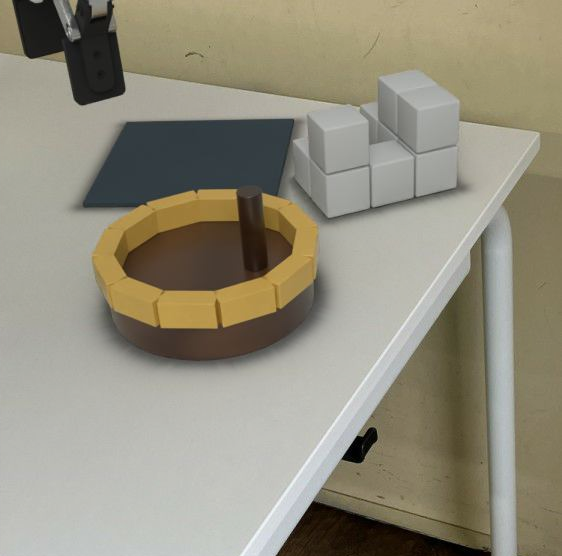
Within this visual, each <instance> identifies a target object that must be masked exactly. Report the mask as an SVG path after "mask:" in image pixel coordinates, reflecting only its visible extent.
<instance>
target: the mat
mask: <svg viewBox="0 0 562 556" xmlns="http://www.w3.org/2000/svg"><path fill="white" fill-rule="evenodd" d="M294 123H295V118H253V119H252V118H250V119H246V118H245V119H197V120H196V119H195V120H192V119H191V120H143V121H137V120H136V121H126V122H125V124H124V126H123V127H122V130H121V131H120V133H119V135H118V137H117V139H116V141H115V143H113V146H112V148H111V150H110V151H109V153H108V155H107V157H106V159H105V161H104V163H103V165H102V166H101V168H100V170H99V172H98V174H97V176H96V178H95V179H94V181H93V182H92V185H91V187H90V189H89V190H88V192H87V194H86V196H85V197H84V200H83V201H82V206H83V207H86V208H87V207H88V208H92V207H93V208H94V207H95V208H96V207H139V206H141V205H145V206H147V202H150V201H154V200H158V199H162V198H165V197H169V196H173V195H177V194H181V193H185V192H188V191H192V190H194V192H195V193H196V194H197V192H198V190H210V189H239V188H240V187H243V186H247V185H254V186H258V187H260V188H261V189H262V193H265V194H268V195H272V196H275V197H278V193H279V187H280V184H281V183H280V182H281V180H282V175H283V171H284V167H285V161H286V158H287V154H288V150H289V145H290V141H291V137H292V132H293V129H294Z"/></svg>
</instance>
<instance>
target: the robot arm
mask: <svg viewBox="0 0 562 556" xmlns="http://www.w3.org/2000/svg"><path fill="white" fill-rule="evenodd" d="M113 1H114V0H77V2H76V5H75V12H74V10H73V8H72V5H71V3H70V0H11V3H12V7H13V12H14V16H15V20H16V24H17V29H18V32H19V37H20V41H21V46H22V51H23V54H24V55H25V57H26V58H28V59H29V60H34V59H38V58H42V57H47V56H50V55H56V54H58V53H63V54H64V58H65V63H66V68H67V73H68V78H69V84H70V89H71V93H72V98H73V101H74V102H75V103H76V104H77V105H79V106H81V107H85V106H87V105H91V104H95V103H98V102H103V101H106V100H110V99H113V98H118V97H120V96H123V95H125V93H126V90H127V87H126V82H125V76H124V75H125V74H124V70H123V64H122V58H121V52H120V45H119V40H118V34H117V29H118V28H117V27H118V25H117V20H116V17H115V15H114V9H115V4H113Z"/></svg>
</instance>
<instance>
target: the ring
mask: <svg viewBox="0 0 562 556" xmlns="http://www.w3.org/2000/svg"><path fill="white" fill-rule="evenodd" d="M236 191H237V189H210V190H198V192H197V194H196V193H195V192H194V190H192V191H188V192H185V193H181V194H177V195H173V196H169V197H165V198H162V199H158V200H154V201H150V202H147V206H145V205H141V206H136V208H134V209H132V210H131V211H129V212H128V213H126V214H124V215H123V216H121V217H119V218H118V219H117V220H115V221H113V222H112V223H110V224H109V225H108V226H107V228H105V229H104V230H103V232H102V234H101V236H100V238H99V240H98V242H97V244H96V246H95V249H94V250H93V252H92V254H91V263H92V268H93V273H94V278H95V282H96V284H97V286H98V288H99V289H100V291H101V293H102V294H103V296H104V298H105V300H106V302H107V304H108V305H109V308H110V307H111V308H114V311H116V312H119V313H121V314H124V315H126V316H129V317H131V318H134V319H137V320H139V321H142V322H144V323H147V324H149V325H152V326H154V327H157V326H158V325H159V324H160V326H161V328H211V329H217V328H218V325H219V322H220V324H221V325H222V326H223V328H224V327H227V326H231V325H234V324H237V323H241V322H244V321H247V320H250V319H254V318H257V317H260V316H263V315H267V314H270V313H273V312H276V307H277V308H280V309H282V308H283V307H284V306H285V305H286V304H288V303H289V302H290V301H291V300H292V299H294V298H295V297H296V296H297V295H298V294H300V293H301V292H302V291H303V290H305V289H306V288H307V287H308V286H309V285H311V284H312V283H313V279H314V280H316V278H317V271H318V265H319V258H320V248H321V247H320V231H319V227H318V224H317V223H316V222H315V221H314V220H313V219H312V218H311V217H310V216H309V215H308V214H307V213H306V212H305V211H304V210H303V209H302V207H300V206H299V205H298V203H293V202H292V201H291V200H289V199H285V198H281V197H279V196H277V197H275V196H272V195H268V194H265V193H262V197H263V209H264V220H265V228H268V229H271V230H274V231H278V232H280V233H281V234H282V235H283V237H284V238H285V239H286V240H287V241H288V242H289V243H290V244H291V245H292V246H293V250H292V255H290V256H289V257H288V258H286V259H285V260H284V261H283V262H281V263H280V264H279V265H277V266H276V267H275V268H274V269H272V270H271V271H270V272H268V273H267V274H266V275H265V276H263V277H261V278H257V279H254V280H250V281H247V282H243V283H240V284H237V285H233V286H230V287H226V288H223V289H220V290H216V291H164V290H161V289H159V288H156V287H153V286H151V285H148V284H145V283H143V282H140V281H137V280H135V279H132V278H129V277H127V275H126V274H125V272H124V271H123V269H122V267H123V265H124V262H125V260H126V258H127V255H128V253H129V252H131V251H132V250H134V249H135V248H137V247H138V246H140V245H141V244H143V243H144V242H146V241H147V240H149V239H150V238H152V237H153V236H155V235H156V234H158V233H160V232H164V231H168V230H171V229H175V228H179V227H182V226H186V225H190V224H193V223H197V222H201V221H239V217H238V207H237V198H236ZM111 308H110V309H111Z"/></svg>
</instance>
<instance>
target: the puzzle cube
mask: <svg viewBox="0 0 562 556" xmlns="http://www.w3.org/2000/svg"><path fill="white" fill-rule="evenodd" d="M460 115H461V100H459V98H458V97H456V96H455V95H453V94H452V93H451V92H450V91H448V90H447V89H445V88H444V87H442V86H441V85H439V84H438V83H437V82H436V81H434V80H433V78H431V77H430V76H428V75H427V74H425V73H423V72H422V71H421V70H420V69H418V68H414V69H409V70H405V71H400V72H396V73H390V74H386V75H380V76H378V77H377V100H376V101H372V102H367V103H362V104H360V105H359V111H358V110H357V109H356V107H354V106H353V105H352V104H350V103H346V104H341V105H337V106H333V107H328V108H324V109H318V110H314V111H309V112H307V113H306V120H307V121H306V122H307V123H306V124H307V136H304V137H301V138H295V139H293V140H292V152H293V165H294V166H293V169H294V179H295V180H294V181H296V182H297V184H298V185H299V186H300V187H301V188H302V190H303V191H304V192H305V193H306V195H308V197H309V198H311V200H312V202H314V204H315V205H316V206H317V208H318V209H319V210H320V211H321V212H322V213H323V214H324V215H325V217H326V218H327V219H332V218H336V217H341V216H345V215H348V214H354V213H356V212H362V211H366V210H369V209H370V208H377V207H382V206H387V205H390V204H394V203H398V202H402V201H407V200H411V199H413V198H415V197H416V198H420V197H423V196H427V195H432V194H436V193H441V192H444V191H449V190H453V189H456V188H457V185H458V183H457V182H458V165H459V164H458V163H459V162H458V160H459V146H458V144H459V139H460V137H459V136H460V119H461V118H460Z"/></svg>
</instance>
